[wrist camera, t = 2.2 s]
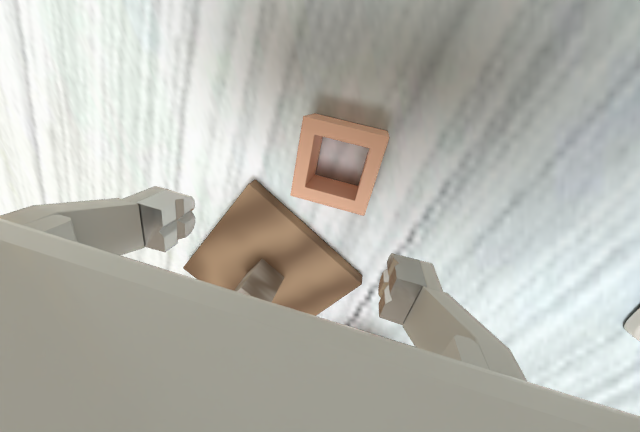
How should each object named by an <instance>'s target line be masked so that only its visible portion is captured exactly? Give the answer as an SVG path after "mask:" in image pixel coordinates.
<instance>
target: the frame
mask: <svg viewBox="0 0 640 432" xmlns="http://www.w3.org/2000/svg"><path fill="white" fill-rule="evenodd" d="M323 137H327V138H331V139H335V140H339V141H343V142H347V143H351V144H355V145H359V146H362V147H366V148H369V151H368V154H367V158H366V161H365V165H364V168H363V171H362V175H361V178H360V182H359V185H358V186H357V185H353V184H349V183H345V182H342V181H338V180H334V179H330V178H327V177H323V176H319V175H315V172H316V167H317V162H318V158H319V153H320V148H321V143H322V138H323ZM388 140H389V134H388V131H386V130H382V129H378V128H373V127H369V126H365V125H361V124H357V123H353V122H349V121H345V120H340V119H336V118H332V117H328V116H324V115H320V114H316V113H314V114H310V115H306V116H303V122H302V128H301V134H300V140H299V146H298V152H297V159H296V165H295V171H294V177H293V183H292V189H291V196H294V197H298V198H302V199H305V200H309V201H312V202H316V203H320V204H323V205H327V206H330V207H334V208H338V209H341V210H345V211H349V212H352V213H356V214H359V215H363V216H364V215H365V212H366V209H367V205H368V202H369V199H370V196H371V193H372V190H373V187H374V184H375V181H376V178H377V174H378V171H379V168H380V165H381V162H382V159H383V156H384V153H385V150H386V147H387V143H388Z"/></svg>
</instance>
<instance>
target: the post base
mask: <svg viewBox="0 0 640 432" xmlns="http://www.w3.org/2000/svg"><path fill="white" fill-rule="evenodd" d="M183 268H184V269H185V270H186V271H187V272H189V273H190V274H191V275H193V276H194V277H195V278H196V279H198V280H201V281H204V282H207V283H211V284H214V285H217V286H220V287H224V288H227V289H230V290H233V291H236V292H240V293H243V294H246V295H249V296H253V297H256V298H259V299H262V300H265V301H269V302H272V303H275V304H278V305H282V306H285V307H288V308H291V309H295V310H298V311H301V312H304V313H308V314H311V315H314V316H316V315H318V314H319V313H320V312H322V311H323V310H325V309H326V308H328V307H329V306H331V305H332V304H334V303H335V302H337V301H338V300H339V299H341V298H342V297H344V296H345V295H347V294H348V293H350V292H351V291H353V290H354V289H355V288H357V287H358V286H360V285H361V284H362V275H361V274H360V273H359V272H358V271H357V270H356V269H354V268H353V267H352V266H351V265H350V264H349V263H348V262H347V261H345V260H344V259H343V258H342V257H341V256H340V255H339V254H338V253H337V252H335V251H334V250H333V249H332V248H331V247H330V246H329V245H328V244H327V243H325V242H324V241H323V240H322V239H321V238H320V237H319V236H318V235H317V234H315V233H314V232H313V231H312V230H311V229H310V228H309V227H308V226H307V225H305V224H304V223H303V222H302V221H301V220H300V219H299V218H298V217H296V216H295V215H294V214H293V213H292V212H291V211H290V210H289V209H288V208H286V207H285V206H284V205H283V204H282V203H281V202H280V201H279V200H278V199H276V198H275V197H274V196H273V195H272V194H271V193H270V192H269V191H268V190H266V189H265V188H264V187H263V186H262V185H261V184H260V183H259V182H257V181H256V180H254V181H253V182H251V183H250V184H248V186H247V187H246V188H245V190H244V191H243V192H242V193H241V195H240V196H239V197H238V198H237V200H236V201H235V202H234V204H233V205H232V206H231V207H230V209H229V210H228V211H227V212H226V214H225V215H224V216H223V218H222V219H221V220H220V221H219V223H218V224H217V225H216V226H215V228H214V229H213V230H212V232H211V233H210V234H209V235H208V237H207V238H206V239H205V241H204V242H203V243H202V244H201V246H200V247H199V248H198V249H197V251H196V252H195V253H194V255H193V256H192V257H191V258H190V260H189V261H188V262H187V263H186V265H185V266H184V267H183Z"/></svg>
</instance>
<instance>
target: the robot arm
mask: <svg viewBox="0 0 640 432" xmlns="http://www.w3.org/2000/svg"><path fill="white" fill-rule="evenodd" d="M194 208H195V201H194V199H193V198H192V196H188V195H185V194H182V193H178V192H175V191H172V190H169V189H165V188H161V187H157V186H154V187H151V188H149V189H146V190H144V191H141V192H139V193H136V194H134V195H131V196H128V197H126V198H123V199H120V198H113V199H101V200H90V201H78V202H67V203H56V204H44V205H33V206H30V207H26V208H23V209H20V210H17V211H14V212H10V213H7V214H4V215H1V216H0V432H640V416H637V415H634V414H631V413H627V412H624V411H621V410H618V409H614V408H611V407H608V406H605V405H601V404H598V403H595V402H592V401H588V400H585V399H582V398H579V397H575V396H572V395H569V394H566V393H562V392H559V391H556V390H553V389H550V388H546V387H543V386H540V385H537V384H533V383H530V382H527V380H526V378H525V376H524V374H523V373H522V371H521V369H520V367H519V365H518V363H517V362H516V360H515V358H514V356H513V354H512V352H511V351H510V349H509V348H508V347H507V346H505V345H504V344H503V343H502V342H501V341H500V340H499V339H498V338H497V337H495V336H494V335H493V334H492V333H491V332H490V331H489V330H488V329H487V328H485V327H484V326H483V325H482V324H481V323H480V322H479V321H478V320H477V319H476V318H474V317H473V316H472V315H471V314H470V313H469V312H468V311H467V310H466V309H464V308H463V307H462V306H461V305H460V304H459V303H458V302H457V301H456V300H455V299H453V298H452V297H451V296H450V295H449V294H448V293H445V292H443V290H442V287H441V284H440V282H439V279H438V276H437V274H436V271H435V268H434V266H433V264H432V263H429V262H424V261H420V260H417V259H413V258H409V257H405V256H401V255H397V254H393V253H391V255H390V256H389V259H388V261H387V268H388V269H386V270H384V271H383V273H382V276H381V279H380V283H379V296H380V297H381V299H380V302H379V317H380V318H383V319H386V320H389V321H392V322H395V323H398V324H401V325H403V328H404V329H405V331H406V333H407V334H408V336H409V337H410V339H411V341H412V342H413V344H414V345H415V347H414V346H411V345H408V344H404V343H401V342H398V341H395V340H392V339H388V338H385V337H382V336H379V335H375V334H372V333H369V332H366V331H362V330H359V329H356V328H353V327H350V326H346V325H343V324H340V323H337V322H333V321H330V320H327V319H324V318H320V317H317V316H314V315H311V314H308V313H304V312H301V311H298V310H295V309H291V308H288V307H285V306H282V305H278V304H275V303H272V302H269V301H265V300H262V299H259V298H256V297H253V296H249V295H246V294H243V293H240V292H236V291H233V290H230V289H227V288H224V287H220V286H217V285H214V284H211V283H207V282H204V281H201V280H198V279H194V278H191V277H188V276H185V275H182V274H178V273H175V272H172V271H169V270H165V269H162V268H159V267H156V266H153V265H149V264H146V263H143V262H140V261H136V260H133V259H130V258H127V257H123V256H120V255H123V254H126V253H129V252H132V251H136V250H139V249H142V248H144V247H148V248H151V249H155V250H159V251H162V252H166V251H168V250H169V249H170V248H172V247H173V246H175V245H176V244H177V243H178V239H181V238H185V237H187V236H188V235H189V234H190V233H191V232H192V230H193V228H194V225H195V216H194V214H193V213H192V210H193V209H194ZM624 328H625V330H626V331H627V332H628V333H629V334H630V335H632V336H633V337H634V338H636V339H637V340H638V341H640V308H639V309H638V310H637V311H636V312H635V313H634V314H633V315H632V316H631V317H630V318H629V319H628V320H627V322H626V323H625V325H624Z"/></svg>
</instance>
